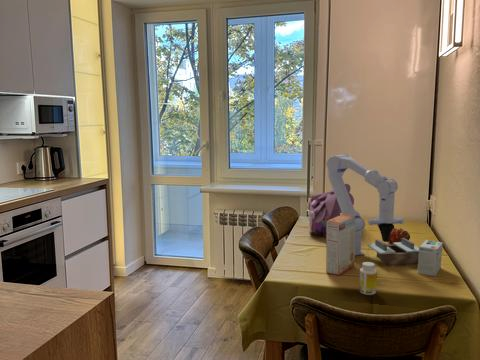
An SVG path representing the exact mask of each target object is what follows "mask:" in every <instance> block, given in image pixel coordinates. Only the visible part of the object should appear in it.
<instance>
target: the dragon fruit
mask: <svg viewBox="0 0 480 360" xmlns="http://www.w3.org/2000/svg"><path fill="white" fill-rule="evenodd" d="M410 235H411V234H410V233H409V232H408V231H407V230H404V229H403V228H401V227H400V228H395V227H394V229H393V230H392V232H391V234H390V236H389V239H388V242H387V243H388V244H390V245H394V244H393V243H395V242H401V240H402V238H405V239H407V240H409V241H410V239H411V236H410Z"/></svg>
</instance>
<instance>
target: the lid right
mask: <svg viewBox="0 0 480 360" xmlns="http://www.w3.org/2000/svg"><path fill="white" fill-rule="evenodd" d="M392 245H395V246H397V247H399V248H401V249H402V250H404V251H406V252H407V253H409V252H419V247H418V246H416V245H415V243H414V242H412V241H410V239H409V240H407V239H405V238H402V240H401V242H395V243H393V244H392Z"/></svg>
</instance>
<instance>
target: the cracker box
mask: <svg viewBox="0 0 480 360" xmlns="http://www.w3.org/2000/svg"><path fill="white" fill-rule="evenodd" d="M326 230H327V232H326V236H325V237H326V242H325V243H326V250H325V251H326V252H325V253H326V254H325V255H326V259H325V261H326V262H325V263H326V264H325V266H326V268H325V271H326V273H327V274H332V275H334V276H341V275H343V274H344V273H346V271H348V270H350V269H351V268H353V267H354V266H355V256H356V255H355V216H352V215H346V214H342V213H341V214H340V216H337V217H335V218H333V219H330V220H328V221H327V229H326Z"/></svg>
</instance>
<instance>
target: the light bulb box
mask: <svg viewBox="0 0 480 360" xmlns="http://www.w3.org/2000/svg"><path fill="white" fill-rule="evenodd" d="M443 244H444V243H443V242H441V241H434V240H428V239H424V241H423V242H422V243H421V244H420V245H419V247H418V248H419V257H418V265H417V274H422V275H428V276H433V277H436V276H437V275H438V273H439V271H440V270H441V269H442V268H441V267H442V256H443Z"/></svg>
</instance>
